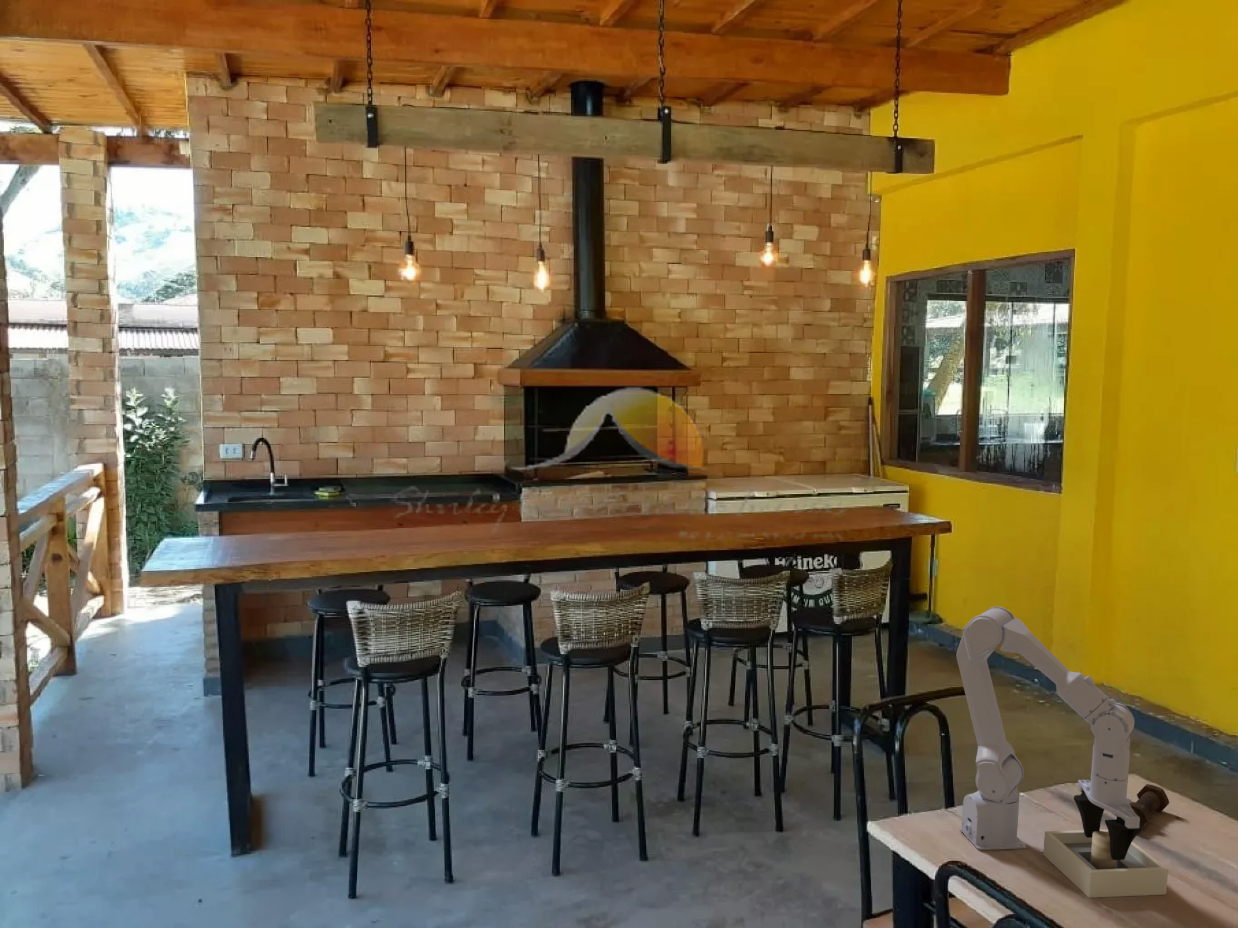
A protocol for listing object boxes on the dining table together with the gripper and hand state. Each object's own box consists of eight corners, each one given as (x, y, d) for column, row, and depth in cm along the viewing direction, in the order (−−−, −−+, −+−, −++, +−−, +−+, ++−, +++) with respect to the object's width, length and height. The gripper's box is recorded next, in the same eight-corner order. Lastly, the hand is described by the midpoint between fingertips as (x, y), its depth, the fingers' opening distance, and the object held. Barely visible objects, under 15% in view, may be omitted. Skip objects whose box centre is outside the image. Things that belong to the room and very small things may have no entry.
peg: (1098, 880, 161) (1101, 842, 160) (1085, 868, 165) (1087, 831, 164) (1120, 879, 162) (1123, 841, 161) (1106, 867, 165) (1108, 830, 165)
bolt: (1122, 839, 180) (1149, 813, 190) (1148, 836, 176) (1173, 809, 186) (1108, 810, 181) (1135, 785, 191) (1133, 805, 178) (1159, 781, 188)
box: (1088, 897, 156) (1090, 872, 155) (1043, 854, 170) (1044, 831, 169) (1166, 894, 157) (1168, 869, 157) (1114, 852, 171) (1116, 828, 171)
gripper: (1158, 792, 155) (1152, 868, 156) (1105, 756, 169) (1100, 826, 170) (1119, 793, 154) (1113, 870, 155) (1069, 757, 168) (1064, 827, 170)
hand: (1104, 847), depth 163 cm, fingers open, 7 cm apart
